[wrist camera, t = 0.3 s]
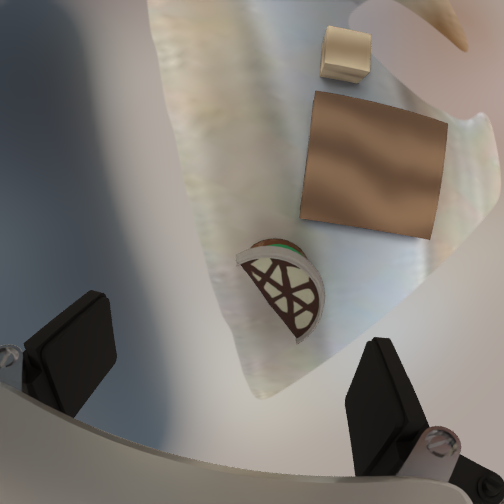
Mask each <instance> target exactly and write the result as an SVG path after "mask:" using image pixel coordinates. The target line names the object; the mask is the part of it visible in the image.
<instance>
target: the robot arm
mask: <svg viewBox="0 0 504 504" xmlns="http://www.w3.org/2000/svg"><path fill="white" fill-rule="evenodd" d="M24 346H25V349H26V350H25V351H24V352H22V351H21V349H20V348H19V347H17V346H15V345H2V346H0V504H504V481H503V479H502V478H501V477H500V476H499V475H498V474H496V473H495V472H493V471H491V470H489V469H487V468H485V467H483V466H481V465H479V464H477V463H475V462H473V461H471V460H470V459H468V458H466V457H464V456H462V455H460V452H461V442H460V440H459V438H458V436H457V435H456V434H455V433H454V432H453V431H451V430H450V429H448V428H445V427H442V426H433V427H429V425H428V422H427V420H426V417H425V415H424V412H423V410H422V407H421V405H420V403H419V400H418V398H417V395H416V393H415V391H414V389H413V386H412V384H411V382H410V380H409V378H408V376H407V374H406V372H405V369H404V367H403V365H402V364H401V361H400V359H399V356H398V354H397V352H396V350H395V348H394V346H393V344H392V342H391V340H390V339H389V338H379V337H374V338H373V339H372V341H368V342H367V343H366V346H365V349H364V352H363V354H362V357H361V360H360V362H359V365H358V368H357V370H356V373H355V376H354V378H353V380H352V383H351V385H350V388H349V390H348V392H347V395H346V398H345V408H346V414H347V420H348V427H349V433H350V440H351V447H352V453H353V461H354V469H355V476H356V477H331V476H306V475H290V474H278V473H269V472H261V471H253V470H246V469H240V468H234V467H228V466H222V465H217V464H212V463H208V462H203V461H198V460H194V459H190V458H186V457H181V456H178V455H174V454H170V453H166V452H163V451H160V450H157V449H153V448H150V447H147V446H143V445H141V444H138V443H135V442H132V441H129V440H126V439H123V438H120V437H118V436H115V435H112V434H110V433H107V432H104V431H102V430H100V429H97V428H94V427H92V426H90V425H88V424H85V423H83V422H81V421H78V420H76V419H74V417H75V416H76V414H77V413H78V412H79V410H80V409H81V408H82V406H83V405H84V404H85V402H86V401H87V400H88V398H89V397H90V396H91V394H92V393H93V392H94V390H95V389H96V388H97V386H98V385H99V383H100V382H101V381H102V380H103V378H104V377H105V376H106V374H107V373H108V372H109V371H110V369H111V368H112V367H113V365H114V364H115V362H116V358H117V353H116V347H115V341H114V334H113V327H112V319H111V310H110V302H109V299H108V298H106V295H105V294H104V293H101V292H97V291H93V290H90V291H89V292H87V293H86V294H85V295H83V296H82V297H81V298H79V299H78V300H77V301H75V302H74V303H73V304H72V305H70V306H69V307H68V308H67V309H65V310H64V311H63V312H61V313H60V314H59V315H58V316H56V317H55V318H54V319H53V320H51V321H50V322H49V323H48V324H47V325H45V326H44V327H43V328H42V329H40V330H39V331H38V332H37V333H36V334H34V335H33V336H32V337H31V338H30V339H28V340H27V341H26V342H25V343H24Z"/></svg>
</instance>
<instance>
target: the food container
mask: <svg viewBox="0 0 504 504" xmlns="http://www.w3.org/2000/svg"><path fill="white" fill-rule="evenodd" d="M236 262H237V265H236V266H238V265H240V264H241V266H242V267H243V269H244V270H245V271H246V272H247V274H248V275H249V276H250V277H251V279H252V280H253V282H254V283H255V284H256V286H257V287H258V288H259V290H260V291H261V293H262V294H263V296H264V297H265V299H266V300H267V301H268V303H269V304H270V306H271V307H272V308H273V309H274V310H275V312H276V313H277V314H278V315H279V316H280V317H281V319H282V320H283V321H284V322H285V324H286V325H287V326H288V328H289V329H290V330H291V332H292V333H293V334H294V335H295V337H296V344H299V343H300V342H302V341H303V340H304V339H306V338H307V337H308V336H309V335H310V334H311V332H312V331H313V330H314V329H315V327H316V326H317V324H318V323H319V320H320V318H321V315H322V312H323V307H324V302H325V291H324V285H323V282H322V279H321V277H320V275H319V273H318V271H317V270H316V269H315V267H314V266H313V265H312V264H311V263H310V262H309V261H308V260H307V258H306V256H305V254H304V253H303V251H302V250H301V249H300V248H299V247H298V246H296V245H295V244H293V243H291V242H289V241H287V240H283V239H267V240H263V241H260V242H258V243H256V244H254V245H253V246H252V247H251V248H250V249H248V250H246V251H243V252H241V253H239V254H238V255H236Z"/></svg>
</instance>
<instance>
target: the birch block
mask: <svg viewBox="0 0 504 504" xmlns="http://www.w3.org/2000/svg"><path fill="white" fill-rule="evenodd" d="M370 59H371V34H366V33H363V32H358V31H354V30H349V29H344V28H339V27H333V26H327V29H326V33H325V36H324V39H323V43H322V54H321V66H320V77H325V78H331V79H337V80H342V81H347V82H352V83H357V84H358V83H359V82H360V81H361V80H362V79H363V78H364V77H365V76H366V75H367V74H368V73H369V72H370Z"/></svg>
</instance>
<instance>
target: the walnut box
mask: <svg viewBox="0 0 504 504" xmlns="http://www.w3.org/2000/svg"><path fill="white" fill-rule="evenodd" d="M447 129H448V124H447V123H444V122H442V121H439V120H436V119H433V118H430V117H426V116H423V115H420V114H417V113H413V112H410V111H407V110H403V109H399V108H396V107H392V106H388V105H384V104H380V103H376V102H372V101H368V100H363V99H358V98H354V97H349V96H344V95H338V94H333V93H327V92H321V91H315V96H314V100H313V108H312V117H311V127H310V135H309V144H308V152H307V160H306V168H305V176H304V184H303V191H302V199H301V206H300V218H301V219H308V220H315V221H321V222H328V223H335V224H341V225H347V226H354V227H360V228H366V229H372V230H378V231H384V232H390V233H395V234H401V235H407V236H412V237H418V238H423V239H428V240H430V238H431V234H432V229H433V225H434V220H435V215H436V210H437V205H438V199H439V194H440V188H441V181H442V175H443V167H444V159H445V151H446V141H447Z"/></svg>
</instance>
